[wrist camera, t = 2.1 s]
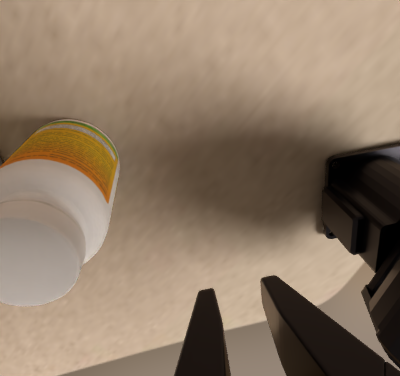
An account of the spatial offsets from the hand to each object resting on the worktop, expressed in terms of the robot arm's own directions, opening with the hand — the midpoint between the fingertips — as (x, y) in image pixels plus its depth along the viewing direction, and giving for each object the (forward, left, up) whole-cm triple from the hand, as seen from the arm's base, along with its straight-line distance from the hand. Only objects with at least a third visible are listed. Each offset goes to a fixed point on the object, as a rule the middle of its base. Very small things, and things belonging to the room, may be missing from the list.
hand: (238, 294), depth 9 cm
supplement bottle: (+7, 0, -13) cm, 15 cm away
